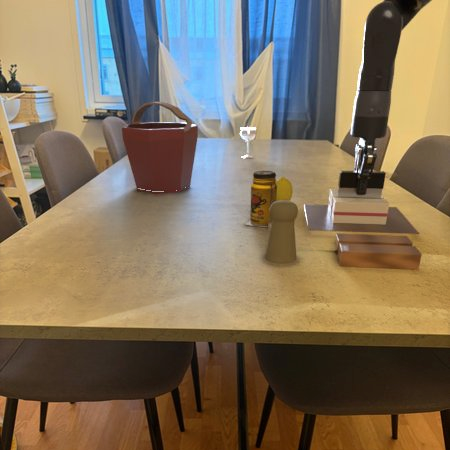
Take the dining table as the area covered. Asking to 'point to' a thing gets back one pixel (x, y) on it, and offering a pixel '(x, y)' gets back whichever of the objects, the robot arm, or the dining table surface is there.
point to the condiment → (262, 198)
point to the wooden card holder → (376, 251)
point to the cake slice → (360, 211)
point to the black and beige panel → (350, 184)
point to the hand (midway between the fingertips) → (359, 193)
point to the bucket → (161, 151)
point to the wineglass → (248, 137)
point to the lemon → (284, 189)
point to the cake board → (322, 221)
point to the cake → (334, 195)
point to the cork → (282, 232)
